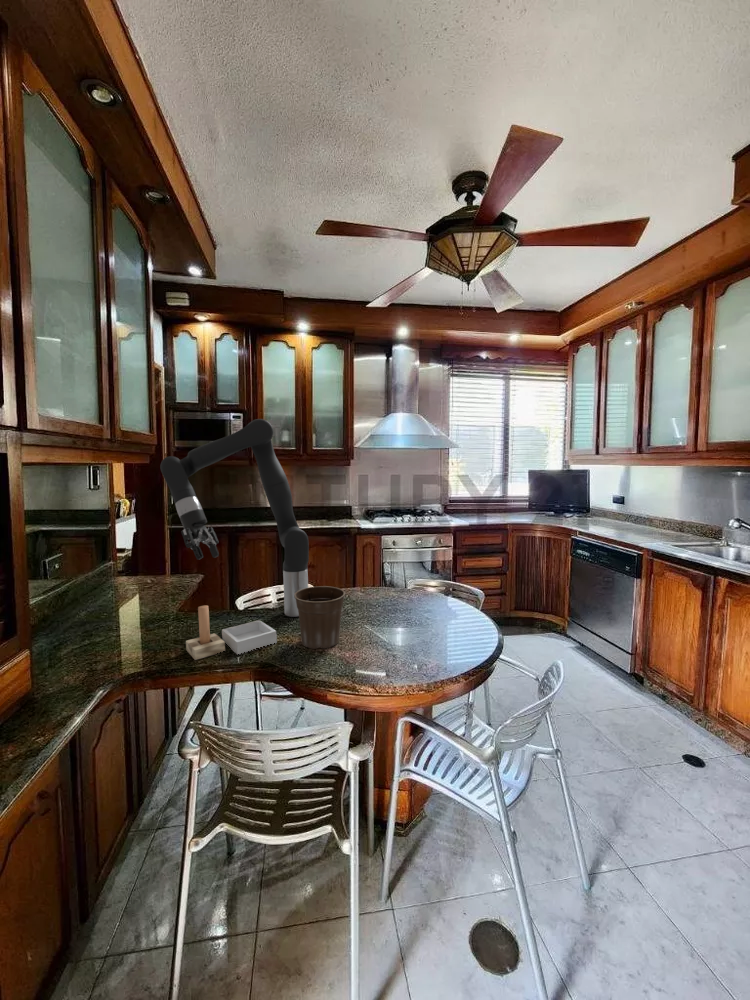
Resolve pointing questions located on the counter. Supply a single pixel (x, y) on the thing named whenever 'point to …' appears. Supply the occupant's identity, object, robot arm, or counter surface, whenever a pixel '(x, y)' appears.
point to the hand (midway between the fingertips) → (208, 557)
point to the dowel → (204, 624)
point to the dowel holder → (205, 647)
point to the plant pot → (319, 615)
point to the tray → (249, 636)
